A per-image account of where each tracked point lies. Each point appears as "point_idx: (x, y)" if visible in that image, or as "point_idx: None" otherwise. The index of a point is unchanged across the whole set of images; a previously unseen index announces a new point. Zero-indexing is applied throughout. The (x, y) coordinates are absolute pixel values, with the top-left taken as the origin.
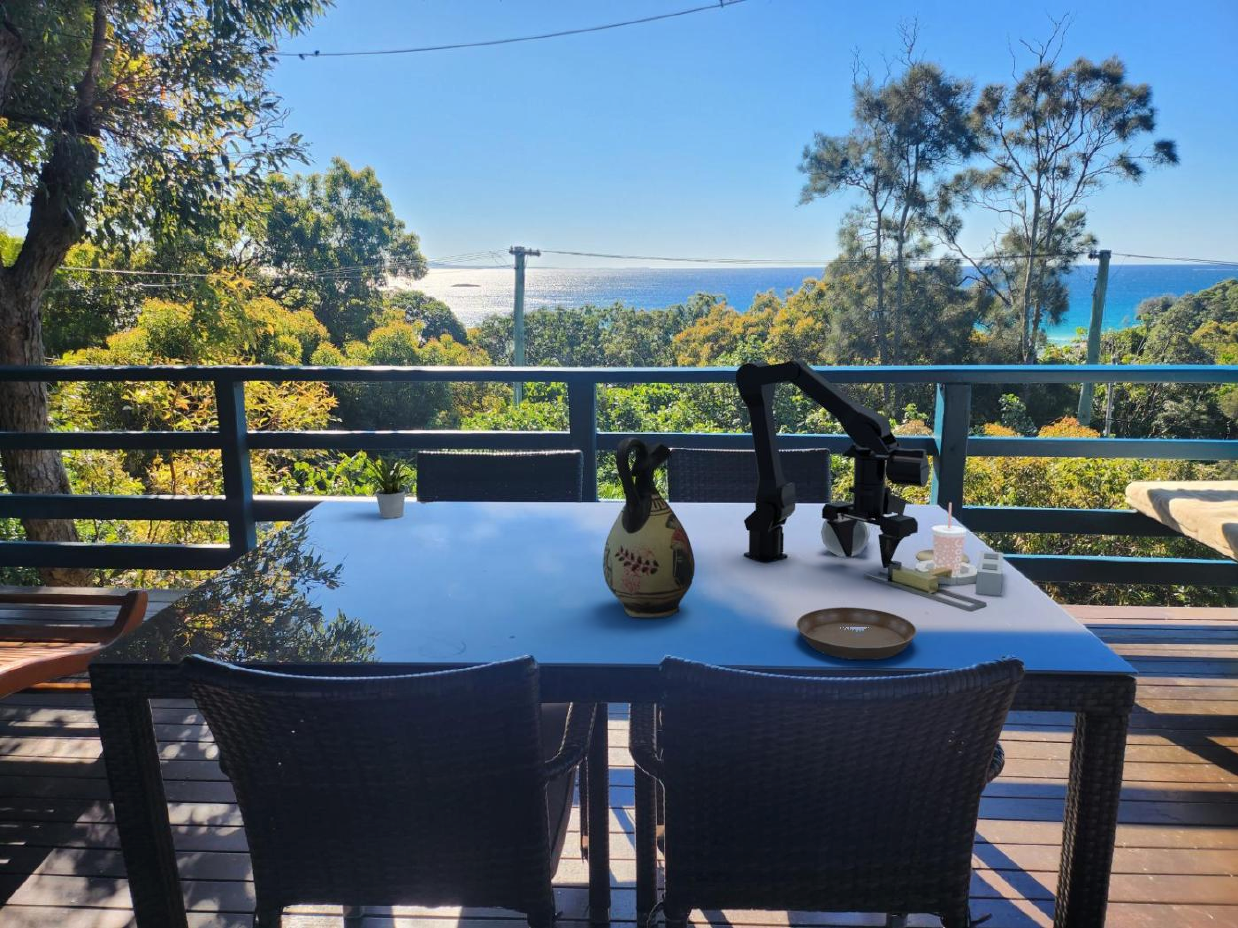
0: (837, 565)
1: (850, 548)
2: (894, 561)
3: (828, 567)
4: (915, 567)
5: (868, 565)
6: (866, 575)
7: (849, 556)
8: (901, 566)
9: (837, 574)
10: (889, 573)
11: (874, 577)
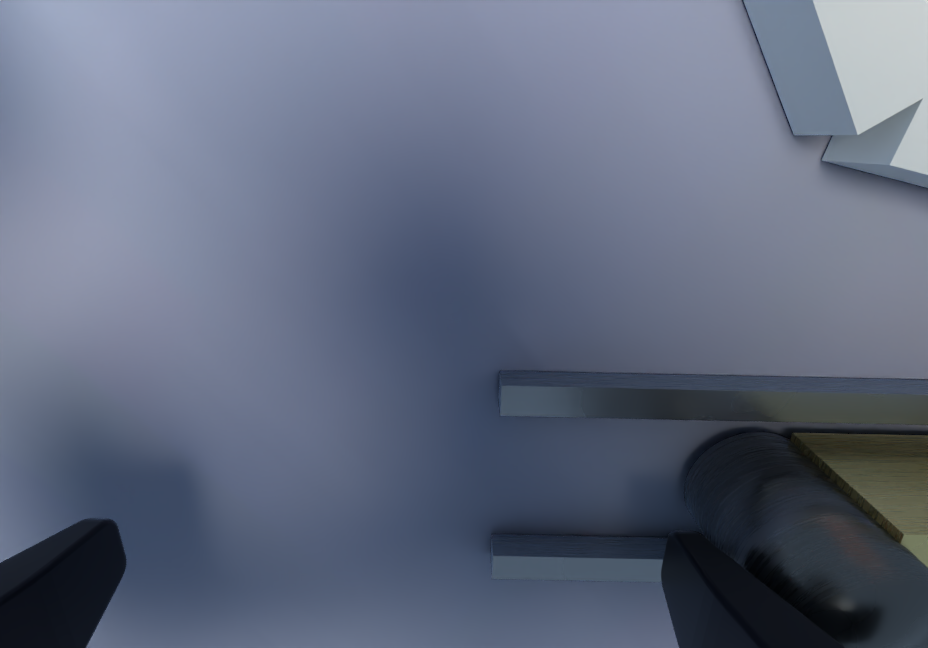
0: (81, 484)
1: (37, 624)
2: (852, 622)
3: None
4: (849, 108)
5: (219, 255)
6: (506, 575)
7: (118, 543)
8: (903, 537)
9: (298, 640)
10: None
11: (597, 577)
